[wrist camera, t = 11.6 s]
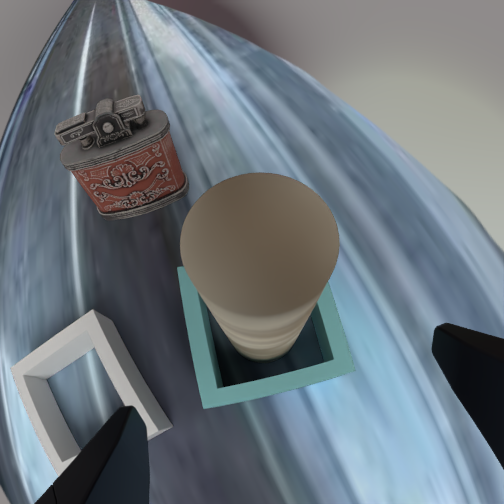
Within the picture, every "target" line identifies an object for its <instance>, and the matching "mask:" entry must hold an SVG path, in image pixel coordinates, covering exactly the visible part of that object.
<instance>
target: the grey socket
mask: <svg viewBox="0 0 504 504" xmlns="http://www.w3.org/2000/svg"><path fill="white" fill-rule="evenodd" d="M93 348H95V349H96V351H97V353H98V355H99V357H100V359H101V361H102V363H103V365H104V367H105V369H106V371H107V373H108V375H109V377H110V379H111V381H112V383H113V385H114V386H115V388H116V390H117V392H118V394H119V396H120V397H121V399H122V401H123V403H124V404H125V406H130V405H132V406H134V407H135V408H136V409H137V411H138V413H139V414H140V416H141V417H142V419H143V421H144V422H145V424H146V427H147V438H148V440H150V439H152V438H153V437H155V436H157V435H159V434H161V433H162V432H164V431H166V430H168V429H169V428H171V427H173V425H172V424H171V422H170V421H169V419H168V418H167V416H166V415H165V413H164V412H163V410H162V408H161V407H160V405H159V404H158V402H157V400H156V399H155V397H154V396H153V394H152V392H151V391H150V389H149V387H148V386H147V384H146V382H145V381H144V379H143V377H142V375H141V374H140V372H139V370H138V368H137V367H136V365H135V363H134V361H133V359H132V358H131V356H130V354H129V352H128V350H127V348H126V346H125V345H124V343H123V341H122V339H121V337H120V335H119V333H118V331H117V329H116V327H115V325H114V323H113V321H112V320H110V319H109V318H107V317H105V316H103V315H102V314H100V313H98V312H97V311H95V310H93V309H92V310H91V311H89V312H88V313H86V314H85V315H84V316H82V317H81V318H79V319H78V320H76V321H75V322H74V323H72V324H71V325H69V326H68V327H66V328H65V329H64V330H62V331H61V332H59V333H58V334H57V335H55V336H54V337H52V338H51V339H49V340H48V341H47V342H45V343H44V344H43V345H41V346H40V347H38V348H37V349H36V350H34V351H33V352H31V353H30V354H29V355H27V356H26V357H25V358H23V359H22V360H21V361H19V362H18V363H17V364H15V365H14V366H12V367H11V368H10V369H11V372H12V375H13V378H14V380H15V383H16V386H17V389H18V391H19V394H20V397H21V399H22V402H23V404H24V407H25V409H26V412H27V414H28V416H29V419H30V421H31V423H32V425H33V428H34V430H35V432H36V434H37V436H38V438H39V440H40V443H41V445H42V447H43V449H44V451H45V452H46V454H47V456H48V458H49V460H50V462H51V464H52V466H53V467H54V469H55V471H56V473H57V475H58V476H60V475H61V473H62V472H63V471H64V470H65V469H66V468H67V467H68V465H69V464H70V463H71V462H72V461H73V460H74V459H75V457H76V456H77V455H78V454H79V453H80V452H81V450H80V448H79V446H78V444H77V443H76V441H75V439H74V437H73V435H72V433H71V431H70V429H69V427H68V425H67V424H66V422H65V419H64V417H63V415H62V413H61V411H60V409H59V407H58V405H57V403H56V400H55V398H54V396H53V394H52V391H51V389H50V387H49V384H48V382H47V379H48V378H50V377H51V376H53V375H54V374H56V373H57V372H59V371H60V370H62V369H63V368H65V367H66V366H68V365H69V364H71V363H72V362H74V361H75V360H77V359H78V358H80V357H81V356H83V355H84V354H86V353H87V352H89V351H90V350H92V349H93Z"/></svg>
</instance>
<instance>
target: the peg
mask: <svg viewBox="0 0 504 504" xmlns="http://www.w3.org/2000/svg"><path fill="white" fill-rule="evenodd" d="M180 251H181V258H182V262H183V265H184V268H185V270H186V273H187V274H188V276H189V278H190V280H191V281H192V283H193V285H194V286H195V288H196V289H197V291H198V292H199V294H200V296H201V297H202V299H203V300H204V302H205V304H206V305H207V307H208V308H209V310H210V311H211V313H212V314H213V316H214V317H215V319H216V321H217V322H218V324H219V325H220V327H221V328H222V330H223V331H224V333H225V334H226V336H227V337H228V339H229V340H230V342H231V343H232V345H233V346H234V348H235V349H236V350H237V352H238V353H239V354H240V355H242V356H243V357H244V358H246V359H248V360H250V361H253V362H257V363H268V362H273V361H276V360H278V359H280V358H282V357H283V356H284V355H286V354H287V353H288V352H289V351H290V349H291V348H292V346H293V345H294V343H295V341H296V339H297V337H298V336H299V334H300V332H301V330H302V329H303V327H304V325H305V323H306V321H307V320H308V318H309V316H310V314H311V312H312V310H313V309H314V307H315V305H316V303H317V301H318V299H319V297H320V296H321V294H322V292H323V290H324V288H325V286H326V284H327V282H328V280H329V278H330V276H331V274H332V272H333V270H334V268H335V265H336V262H337V258H338V254H339V233H338V228H337V224H336V221H335V219H334V216H333V214H332V212H331V210H330V209H329V207H328V206H327V205H326V203H325V202H324V201H323V200H322V198H321V197H320V196H319V195H318V194H316V193H315V192H314V191H313V190H312V189H310V188H309V187H307V186H306V185H304V184H303V183H301V182H299V181H297V180H294V179H292V178H289V177H286V176H282V175H279V174H272V173H249V174H242V175H238V176H235V177H232V178H229V179H226V180H224V181H222V182H220V183H218V184H216V185H215V186H213V187H212V188H210V189H209V190H208V191H206V192H205V193H204V194H203V195H202V196H201V197H200V198H199V199H198V200H197V201H196V202H195V204H194V205H193V206H192V208H191V209H190V211H189V213H188V215H187V217H186V219H185V221H184V224H183V227H182V232H181V237H180Z"/></svg>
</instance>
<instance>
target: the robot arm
mask: <svg viewBox="0 0 504 504" xmlns="http://www.w3.org/2000/svg"><path fill="white" fill-rule="evenodd" d="M432 353H433V356H434V358H435V359H436V361H437V363H438V365H439V366H440V368H441V370H442V372H443V374H444V375H445V377H446V379H447V381H448V383H449V385H450V386H451V388H452V390H453V391H454V393H455V394H456V396H457V397H458V399H459V400H460V402H461V403H462V405H463V406H464V408H465V409H466V411H467V412H468V414H469V415H470V417H471V418H472V420H473V421H474V423H475V424H476V426H477V427H478V429H479V430H480V432H481V433H482V435H483V437H484V438H485V440H486V441H487V443H488V444H489V446H490V448H491V449H492V451H493V452H494V454H495V456H496V457H497V459H498V461H499V462H500V464H501V466H502V467H503V469H504V339H502V338H499V337H495V336H492V335H488V334H485V333H481V332H478V331H474V330H471V329H467V328H464V327H460V326H457V325H453V324H450V323H444V324H441V325H439V326H437V327H436V328H435V330H434V335H433V342H432ZM149 484H150V470H149V455H148V438H147V427H146V424H145V422H144V421H143V419H142V417H141V416H140V414H139V413H138V411H137V409H136V408H135V407H134V406H132V405H130V406H121V407H119V408H118V409H117V411H116V412H115V413H114V414H113V415H112V416H111V417H110V419H109V420H108V421H107V422H106V423H105V424H104V425H103V427H102V428H101V429H100V430H99V431H98V432H97V433H96V435H95V436H94V437H93V438H92V439H91V440H90V441H89V443H88V444H87V445H86V446H85V447H84V448H83V449H82V451H81V452H80V453H79V454H78V455H77V456H76V457H75V459H74V460H73V461H72V462H71V463H70V464H69V465H68V467H67V468H66V469H65V470H64V471H63V472H62V473H61V475H60V476H59V477H58V478H57V479H56V480H55V481H54V483H53V485H51V486H50V487H49V488H48V489H47V490H46V492H45V493H44V494H43V495H42V496H41V497H40V498H39V499H38V500H37V501H36V502H35V503H34V504H149Z"/></svg>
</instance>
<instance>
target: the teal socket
mask: <svg viewBox="0 0 504 504" xmlns="http://www.w3.org/2000/svg"><path fill="white" fill-rule="evenodd" d="M177 270H178V277H179V284H180V290H181V296H182V302H183V308H184V314H185V320H186V326H187V331H188V337H189V342H190V348H191V353H192V358H193V363H194V368H195V373H196V378H197V382H198V387H199V392H200V396H201V401H202V405H203V409H206V408H212V407H218V406H223V405H228V404H233V403H238V402H243V401H248V400H252V399H257V398H261V397H265V396H270V395H274V394H278V393H282V392H286V391H290V390H293V389H297V388H301V387H304V386H308V385H311V384H315V383H318V382H322V381H325V380H328V379H332V378H335V377H338V376H341V375H344V374H347V373H350V372H353V371H355V367H354V364H353V360H352V357H351V353H350V350H349V346H348V343H347V340H346V336H345V333H344V330H343V327H342V323H341V320H340V317H339V314H338V311H337V307H336V304H335V301H334V298H333V295H332V292H331V289H330V286H329V283H328V282H327V284H326V286H325V288H324V290H323V292H322V294H321V296H320V297H319V299H318V301H317V303H316V305H315V307H314V309H313V310H312V312H311V314H310V315H311V318H312V322H313V325H314V328H315V332H316V335H317V339H318V342H319V346H320V349H321V353H322V356H323V360H324V363H321V364H317V365H314V366H310V367H307V368H303V369H299V370H296V371H292V372H288V373H284V374H280V375H276V376H272V377H268V378H264V379H260V380H256V381H251V382H247V383H242V384H237V385H233V386H228V387H223V382H222V378H221V373H220V369H219V364H218V360H217V355H216V351H215V346H214V341H213V336H212V331H211V326H210V321H209V316H208V311H207V306H206V304H205V302H204V300H203V299H202V297H201V296H200V294H199V292H198V291H197V289H196V288H195V286H194V285H193V283H192V281H191V280H190V278H189V276H188V274H187V273H186V270H185V268H184V266H181V267H177Z"/></svg>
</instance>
